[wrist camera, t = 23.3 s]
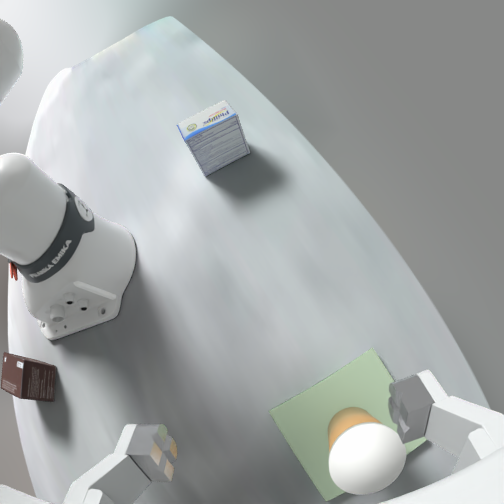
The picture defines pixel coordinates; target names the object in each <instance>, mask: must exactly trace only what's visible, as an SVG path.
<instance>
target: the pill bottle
mask: <svg viewBox="0 0 504 504" xmlns="http://www.w3.org/2000/svg"><path fill="white" fill-rule="evenodd" d="M328 441H329V472H330V476H331V478H332V480H333V481H334V483H335V484H336V485H337V486H338V487H339V488H340V489H342V490H344V491H346V492H348V493H351V494H356V495H366V494H372V493H375V492H378V491H380V490H382V489H384V488H386V487H387V486H389V485H390V484H391V483H393V482H394V481H395V480H396V478H397V477H398V476H399V475H400V473H401V471H402V470H403V467H404V465H405V461H406V447H405V444H402V441H401V439H400V437H399V435H398V434H397V433H396V432H395V431H394V430H392V429H391V428H389V427H388V426H386V425H384V424H382V423H381V422H380V421H378V420H377V419H376V418H375V417H373V416H372V415H371V414H370V413H368V412H367V411H366V410H364V409H362V408H358V407H349V408H345V409H342V410H341V411H339V412H338V413H336V414H335V415H334V416H333V417H332V419H331V420H330V423H329V425H328Z"/></svg>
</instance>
